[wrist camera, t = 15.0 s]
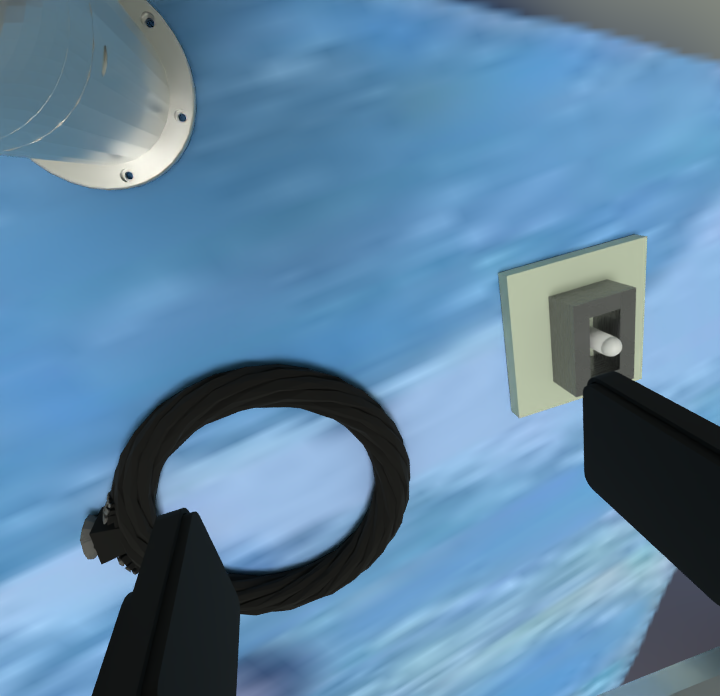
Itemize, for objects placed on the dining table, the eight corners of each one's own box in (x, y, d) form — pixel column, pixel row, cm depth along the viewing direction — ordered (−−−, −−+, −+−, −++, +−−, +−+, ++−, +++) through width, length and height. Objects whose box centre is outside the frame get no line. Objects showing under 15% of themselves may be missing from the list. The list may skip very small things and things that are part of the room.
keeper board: (498, 273, 40) (539, 288, 34) (634, 234, 41) (695, 243, 36) (511, 411, 46) (548, 444, 40) (630, 373, 47) (682, 400, 41)
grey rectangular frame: (548, 296, 40) (573, 306, 37) (606, 279, 41) (636, 287, 38) (553, 381, 44) (576, 397, 40) (607, 364, 44) (634, 378, 41)
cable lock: (419, 587, 47) (124, 661, 42) (408, 559, 51) (134, 624, 46) (410, 351, 37) (19, 412, 32) (397, 336, 41) (43, 389, 36)
